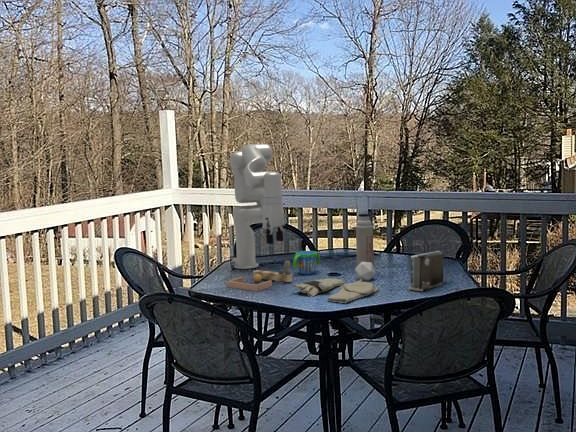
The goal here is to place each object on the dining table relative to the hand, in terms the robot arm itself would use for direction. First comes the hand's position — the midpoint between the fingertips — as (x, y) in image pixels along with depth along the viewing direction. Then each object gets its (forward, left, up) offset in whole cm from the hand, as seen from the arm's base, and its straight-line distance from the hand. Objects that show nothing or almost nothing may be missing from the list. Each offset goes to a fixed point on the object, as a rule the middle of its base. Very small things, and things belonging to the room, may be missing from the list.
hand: (274, 241), depth 247 cm
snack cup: (-2, +28, -20) cm, 34 cm away
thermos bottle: (+23, +40, -20) cm, 50 cm away
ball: (-13, +4, -20) cm, 24 cm away
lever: (-8, +8, -19) cm, 22 cm away
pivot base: (-3, +8, -20) cm, 21 cm away
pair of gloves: (+29, +2, -20) cm, 35 cm away
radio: (+57, +28, -20) cm, 67 cm away
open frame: (-11, -5, -20) cm, 23 cm away
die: (+29, +28, -20) cm, 45 cm away
